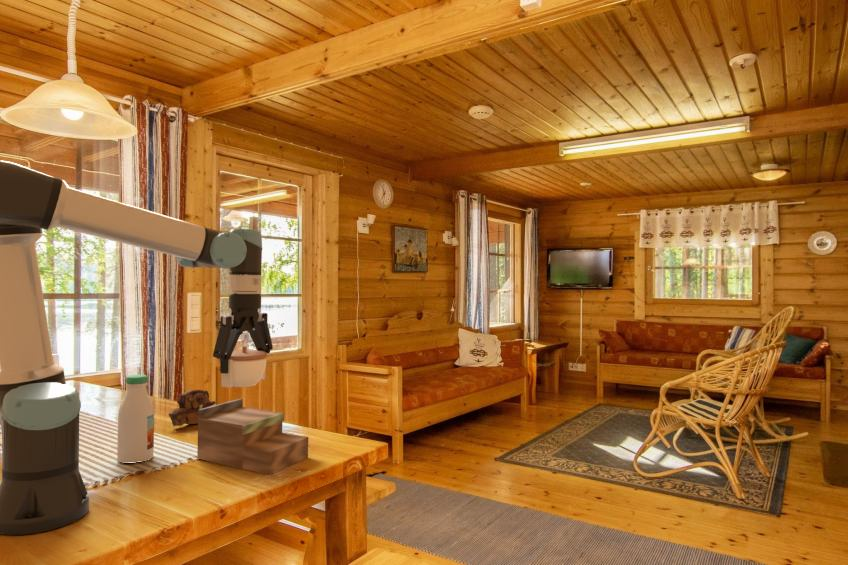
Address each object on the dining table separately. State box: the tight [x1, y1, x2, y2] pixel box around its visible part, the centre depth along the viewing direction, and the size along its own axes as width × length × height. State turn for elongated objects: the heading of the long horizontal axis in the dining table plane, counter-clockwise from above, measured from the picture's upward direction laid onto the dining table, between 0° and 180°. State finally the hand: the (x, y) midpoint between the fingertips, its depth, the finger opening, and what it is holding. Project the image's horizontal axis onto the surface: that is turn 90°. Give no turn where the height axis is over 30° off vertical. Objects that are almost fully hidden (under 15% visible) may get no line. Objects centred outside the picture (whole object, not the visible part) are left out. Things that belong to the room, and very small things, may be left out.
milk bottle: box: [116, 374, 155, 462], centre depth 137 cm, size 8×8×20 cm
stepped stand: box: [196, 398, 309, 475], centre depth 140 cm, size 14×22×12 cm, turn 65°
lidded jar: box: [230, 345, 268, 388], centre depth 141 cm, size 11×11×9 cm
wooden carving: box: [168, 389, 216, 427], centre depth 170 cm, size 16×5×10 cm, turn 162°
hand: (243, 382), depth 141 cm, fingers closed on lidded jar, 11 cm apart
